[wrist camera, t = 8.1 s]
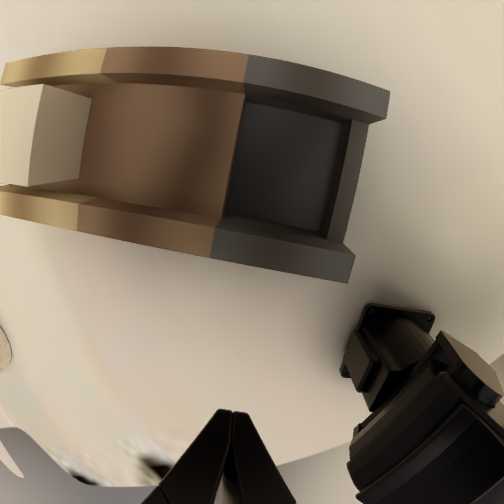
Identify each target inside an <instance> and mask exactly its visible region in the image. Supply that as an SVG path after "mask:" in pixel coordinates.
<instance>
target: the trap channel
mask: <svg viewBox="0 0 504 504" xmlns="http://www.w3.org/2000/svg"><path fill="white" fill-rule="evenodd" d="M38 84H46V85H49V86H52V87H56V88H59V89H63V90H66V91H69V92H72V93H75V94H79V95H82V96H85V97H88V98H91V99H92V101H91V105H90V110H89V115H88V120H87V125H86V131H85V136H84V143H83V149H82V156H81V163H80V171H79V179H72V180H65V181H58V182H52V183H46V184H40V185H34V186H28V187H27V186H20V185H12V184H9V185H4V186H0V215H5V216H9V217H14V218H18V219H23V220H27V221H32V222H37V223H41V224H46V225H51V226H55V227H60V228H65V229H69V230H74V231H79V232H84V233H88V234H93V235H98V236H103V237H108V238H112V239H117V240H122V241H127V242H132V243H137V244H142V245H147V246H152V247H157V248H162V249H167V250H172V251H177V252H182V253H187V254H192V255H197V256H203V257H208V258H213V259H218V260H223V261H228V262H234V263H239V264H244V265H249V266H255V267H260V268H265V269H271V270H276V271H281V272H287V273H292V274H298V275H303V276H309V277H314V278H320V279H325V280H331V281H336V282H342V283H347V284H348V280H349V277H350V274H351V270H352V267H353V264H354V260H355V257H356V255H355V254H353V253H352V252H351V251H350V250H349V249H348V248H347V247H346V246H345V245H344V244H343V240H344V236H345V233H346V229H347V225H348V221H349V216H350V212H351V208H352V204H353V200H354V195H355V191H356V186H357V182H358V177H359V173H360V168H361V163H362V158H363V153H364V148H365V143H366V137H367V132H368V126H369V124H371V123H374V122H377V121H380V120H383V119H386V117H387V110H388V103H389V96H390V91H388V90H385V89H382V88H379V87H377V86H374V85H371V84H368V83H365V82H362V81H359V80H356V79H352V78H349V77H346V76H343V75H339V74H336V73H332V72H329V71H325V70H321V69H317V68H313V67H309V66H305V65H301V64H296V63H292V62H287V61H282V60H277V59H272V58H267V57H261V56H255V55H248V54H242V53H234V52H226V51H217V50H207V49H195V48H179V47H115V48H99V49H87V50H78V51H69V52H62V53H55V54H49V55H43V56H37V57H32V58H27V59H22V60H18V61H13V62H9V63H6V65H5V68H4V72H3V76H2V80H1V83H0V85H6V86H11V87H22V86H30V85H38Z"/></svg>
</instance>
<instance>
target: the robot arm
mask: <svg viewBox="0 0 504 504" xmlns="http://www.w3.org/2000/svg"><path fill="white" fill-rule="evenodd" d="M370 309H373V311H372V312H371V313H368V312H369V310H370ZM429 317H430V319H429V320H428V318H429ZM434 321H435V316H434V314H433V313H432V312H427V311H420V310H413V309H406V308H400V307H393V306H386V305H380V304H373V303H370V304H367V305H366V306H365V308H364V310H363V313H362V315H361V318H360V321H359V324H358V326H357V329H355V330H354V331H353V334H352V336H351V339H350V341H349V344H348V347H347V349H346V352H345V354H344V357H343V359H344V362H343V364H342V367H341V369H340V373H341V376H342V377H344V378H351V379H352V381H353V384H354V386H355V389H356V391H357V392H358V393H362V394H363V397H364V399H365V402H366V404H367V407H368V409H369V411H370V412H372V413H371V414H370V415H369V416H368V417H367V418H366V419H365V420H364V421H363V422H362V423H359V424H358V425H357V426H356V427H355V428H354V432H353V439H352V441H351V444H350V447H349V450H350V461H349V462H348V463H347V469H348V472H349V474H350V477H351V479H352V481H353V483H354V485H355V486H356V487H357V489H358V490H359V491H360V492H359V493H358V494H356V498H357V499H358V500H359V501H360V502H362V503H363V504H504V405H503V404H502V403H501V402H500V401H499V400H500V399H501V398H502V396H503V395H504V393H503V390H502V387H501V385H500V382H499V380H498V377H497V375H496V372H495V371H494V370H493V368H492V367H490V366H489V365H488V364H487V363H486V362H485V361H484V360H483V359H482V358H481V357H480V356H479V355H478V354H477V353H476V352H474V351H473V350H471V349H470V348H468V347H467V346H465V345H464V344H462V343H460V342H459V341H457V340H456V339H454V338H453V337H451V336H450V335H448V334H446V333H445V332H443V331H442V330H441V331H440V332H439V334H438V335H437V336H436V340H435V341H434V339H433V338H432V337H431V336H430V335H429V332H430V330H431V328H432V325H433V323H434ZM345 371H348V372H345ZM222 474H223V475H222ZM221 478H222V503H223V504H295V503H296V501H295V499H294V497H293V496H292V494H291V492H290V490H289V489H288V487H287V485H286V483H285V482H284V480H283V478H282V476H281V475H280V473H279V471H278V469H277V467H276V466H275V464H274V462H273V460H272V458H271V456H270V455H269V453H268V451H267V449H266V447H265V445H264V443H263V441H262V440H261V438H260V436H259V434H258V432H257V430H256V428H255V426H254V424H253V422H252V420H251V418H250V416H249V414H248V413H245V412H238V411H234V412H232V411H231V410H226V409H218V410H217V411H216V412H215V414H214V415H213V416H212V418H211V419H210V420H209V422H208V423H207V424H206V425H205V427H204V428H203V429H202V431H201V432H200V433H199V435H198V436H197V437H196V438H195V440H194V441H193V442H192V444H191V445H190V446H189V447H188V449H187V450H186V451H185V452H184V454H183V455H182V456H181V457H180V459H179V460H178V461H177V462H176V464H175V465H174V466H173V467H172V469H171V470H170V471H169V472H168V473H167V475H166V476H165V477H164V478H163V479H162V481H161V482H160V483H159V486H156V487H155V489H154V490H153V491H152V492H151V493H150V495H149V496H148V497H147V498H146V499H145V500H144V501H143V502H142V503H141V504H214V502H215V498H216V495H217V492H218V488H219V485H220V481H221Z"/></svg>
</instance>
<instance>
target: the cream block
mask: <svg viewBox="0 0 504 504" xmlns="http://www.w3.org/2000/svg"><path fill="white" fill-rule="evenodd" d="M91 101H92V99H91V98H88V97H85V96H82V95H79V94H75V93H72V92H69V91H66V90H63V89H59V88H56V87H52V86H49V85H46V84H38V85H30V86H22V87H15V88H8V89H2V90H0V183H5V184H12V185H20V186H27V187H28V186H34V185H40V184H46V183H52V182H58V181H65V180H72V179H79V171H80V163H81V156H82V149H83V143H84V136H85V131H86V125H87V120H88V115H89V110H90V105H91Z"/></svg>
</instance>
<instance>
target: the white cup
mask: <svg viewBox="0 0 504 504" xmlns="http://www.w3.org/2000/svg"><path fill="white" fill-rule="evenodd" d="M11 357H12V354H11V348H10V344H9V342H8V340H7V338H6V336H5V333H4V332H3V330H2V329H1V327H0V373H1V372H2V371H3V370H4V369H5V368H6V367H7V366H8V365H9V363H10V361H11Z"/></svg>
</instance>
